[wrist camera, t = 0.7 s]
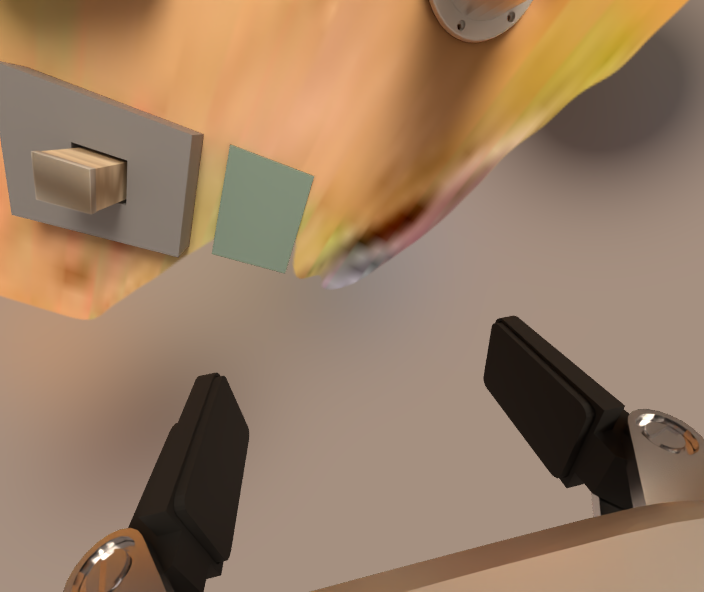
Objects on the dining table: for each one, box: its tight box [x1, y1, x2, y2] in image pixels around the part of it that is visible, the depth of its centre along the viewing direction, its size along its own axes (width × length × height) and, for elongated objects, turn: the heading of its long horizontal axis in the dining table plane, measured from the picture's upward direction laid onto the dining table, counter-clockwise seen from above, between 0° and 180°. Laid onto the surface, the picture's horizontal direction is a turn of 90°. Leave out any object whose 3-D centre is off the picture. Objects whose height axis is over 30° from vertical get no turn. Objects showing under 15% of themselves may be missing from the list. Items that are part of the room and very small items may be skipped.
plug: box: [31, 147, 127, 214], centre depth 29 cm, size 4×4×9 cm
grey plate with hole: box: [0, 61, 204, 257], centre depth 32 cm, size 14×16×4 cm
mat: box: [212, 145, 314, 273], centre depth 38 cm, size 14×10×1 cm
